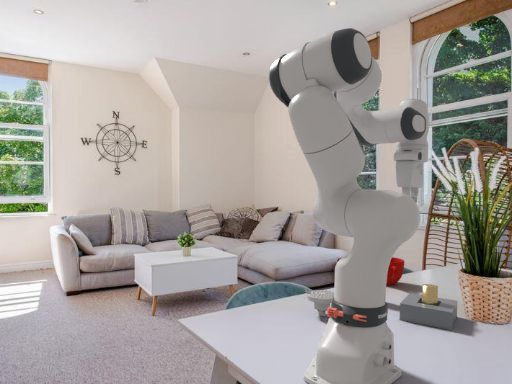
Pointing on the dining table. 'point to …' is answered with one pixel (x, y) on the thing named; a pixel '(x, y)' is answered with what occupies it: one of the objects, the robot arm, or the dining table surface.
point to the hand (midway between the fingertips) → (410, 203)
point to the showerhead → (320, 300)
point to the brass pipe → (430, 294)
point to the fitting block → (429, 312)
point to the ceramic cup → (395, 271)
